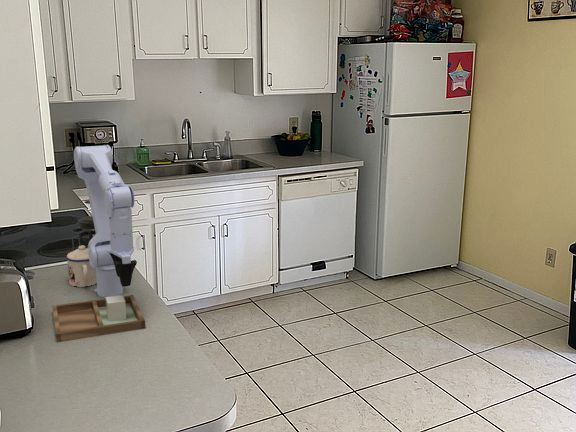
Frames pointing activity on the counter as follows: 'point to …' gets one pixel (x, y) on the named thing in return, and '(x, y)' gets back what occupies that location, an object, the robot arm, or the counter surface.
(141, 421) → the counter surface
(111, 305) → the stone block
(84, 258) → the teacup with lid
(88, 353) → the counter surface
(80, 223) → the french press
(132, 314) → the sorting tray
